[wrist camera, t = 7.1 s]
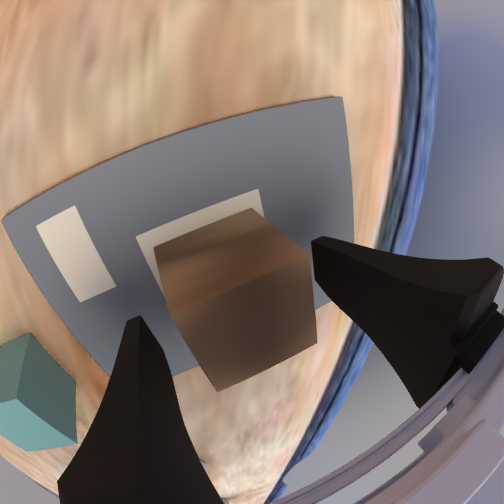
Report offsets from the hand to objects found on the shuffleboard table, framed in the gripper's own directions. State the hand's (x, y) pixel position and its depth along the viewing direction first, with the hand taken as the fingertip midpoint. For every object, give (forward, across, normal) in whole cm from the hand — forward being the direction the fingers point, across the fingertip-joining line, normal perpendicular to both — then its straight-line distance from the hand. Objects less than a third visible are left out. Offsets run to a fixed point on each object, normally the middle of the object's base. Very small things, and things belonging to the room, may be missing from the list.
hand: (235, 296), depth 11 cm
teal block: (+3, +13, +2) cm, 14 cm away
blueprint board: (+3, 0, 0) cm, 3 cm away
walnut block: (+2, 0, 0) cm, 3 cm away
